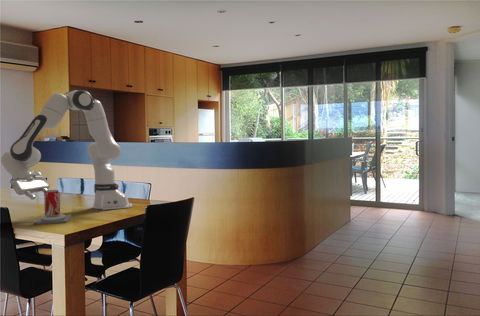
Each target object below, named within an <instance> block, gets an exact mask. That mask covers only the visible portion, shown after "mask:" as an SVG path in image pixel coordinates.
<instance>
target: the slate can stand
mask: <svg viewBox="0 0 480 316" xmlns="http://www.w3.org/2000/svg"><path fill="white" fill-rule="evenodd" d="M71 218H72V214H66V215H65V214H63V213H60V215H59V216H57V217H46V216H45V215H42V216H39V217H38V218H37V219H36V220H34V221H33V225H47V224H48V225H51V224H66V223H68V222H69V220H70V219H71Z"/></svg>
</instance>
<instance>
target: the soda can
mask: <svg viewBox="0 0 480 316" xmlns="http://www.w3.org/2000/svg"><path fill="white" fill-rule="evenodd" d="M43 197H44V202H43V203H44V216H46V217H57V216H59V215H60V214H61V199H60V198H61V194H60V191H59V189H47V191H45V194H44V193H43Z"/></svg>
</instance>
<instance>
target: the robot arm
mask: <svg viewBox="0 0 480 316" xmlns="http://www.w3.org/2000/svg"><path fill="white" fill-rule="evenodd" d="M68 110H69V111H82V112H83V114H84V117H85V120H86V125H87V128H88V129H87V130H88V131H89V132H88V133H89V135H90V136H91V137H92V139H93V140H94V142H91V143H90V144H89V145H88V147H87V154H88V156H89V157H90V159H91V162H92V166H93V169H94V185H93V191H94V200H93V206H92V208H93V209H97V210H101V211H103V210H104V211H106V210H107V211H108V210H116V209H117V210H119V209H129V208H132V207H133V203H131V202H129V198H128V195H127V194H126V193H124V192H123V191H121V190H120V189H119V184H118V183H116V181H115V180H116V179H115V169H114V167H113V166H112V164H111V161H115V160H117V159H119V157H120V156H121V155H122V147H121V146H120V144H118V143H117V142H116V140H115V139H114V136H113V135H112V133H111V130H110V128H109V123H108V120H107V117H106V112H105V109H104V107H103V104H102V103H101V101H100V100H98V99H94V98H93V96H92V95H91V93H90V92H89V91H87V90H83V89H79V90H78V89H77V90H76V89H74V90H71V91H68V92H66V93H62V92H54V93H52V94H51V95H50V97H49V98H48V99H47V100H46V102H44V105H43V107H42V108H41V110H40V111H39V113H38V114H37V115H36V116H35V117H34V118H33V119H32V120H31V122H30V123H29V125H28V126H27V127H26V129H25V131H24V132H23V133H22V135H21V136H19V138H18V139H17V140H16V141H14V142H13V143H12V145H11V146H10V148H9V150H8V151H6V152H4V153H3V154H2V156H1V158H0V161H1V164H2V167H3V168H4V169H5V171H6V172H7V173H8V174H10V175H11V179H10V181H9V183H10V185H11V187H12V189H13V190H14V192H15V193H16V194H17V195H18V196H23V195H24V196H26V197H28V198H30V200H32V201H33V200H35V199H36V196H35V193H39V192H42V193H43V195H44V194H45V191H47V190H49V188H50V187H51V186H50V183H49V181H48V180H47V179H46V178H45V177H44V176H43V175H42V173H41V172H40V171H36V170H33V169H30V168H32V167H33V166H35V165H37V164H38V163H39V162H40V161H41V159H42V153H41V151H40V150H39V149H38V148H36V147H35V146H33V145H34V142H35V141H36V140H37V138H38V136H39V135H40V134H41V132H42V131H43V130H45V129H54V128H56V127H57V126H59V124H60V123H61V122H62V120H63V118H64V116H65V114H66V112H67V111H68ZM33 193H34V194H33Z"/></svg>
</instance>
